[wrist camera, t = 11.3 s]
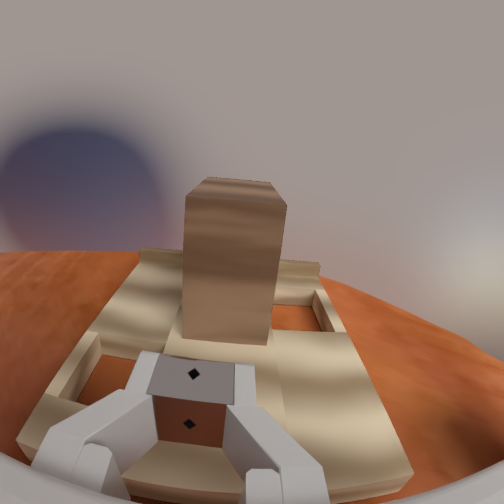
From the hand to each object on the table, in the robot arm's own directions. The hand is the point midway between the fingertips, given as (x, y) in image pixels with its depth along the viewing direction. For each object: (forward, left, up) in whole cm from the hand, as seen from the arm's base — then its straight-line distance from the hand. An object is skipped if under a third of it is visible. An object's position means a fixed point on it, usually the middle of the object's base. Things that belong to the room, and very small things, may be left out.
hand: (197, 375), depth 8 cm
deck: (-4, +12, -9) cm, 16 cm away
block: (-5, +17, -7) cm, 19 cm away
